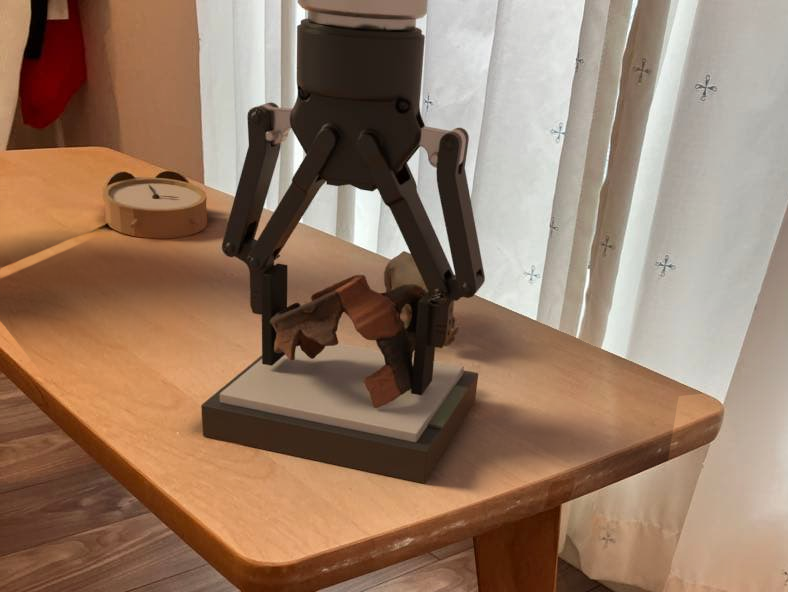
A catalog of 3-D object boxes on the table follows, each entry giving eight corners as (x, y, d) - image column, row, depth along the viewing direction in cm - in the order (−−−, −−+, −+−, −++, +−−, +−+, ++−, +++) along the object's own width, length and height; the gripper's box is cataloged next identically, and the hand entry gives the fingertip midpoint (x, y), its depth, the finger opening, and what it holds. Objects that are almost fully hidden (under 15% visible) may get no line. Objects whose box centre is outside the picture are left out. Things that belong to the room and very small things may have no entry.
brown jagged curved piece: (351, 431, 61) (294, 313, 58) (288, 435, 69) (235, 331, 66) (482, 350, 66) (435, 238, 63) (410, 362, 74) (365, 263, 71)
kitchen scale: (202, 436, 65) (200, 395, 63) (283, 364, 76) (283, 328, 75) (424, 483, 62) (428, 441, 60) (475, 401, 73) (479, 364, 71)
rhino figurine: (428, 365, 79) (434, 294, 75) (372, 308, 89) (376, 244, 86) (473, 361, 80) (481, 291, 77) (413, 306, 90) (418, 242, 87)
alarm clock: (112, 213, 99) (89, 156, 109) (115, 257, 103) (93, 198, 112) (218, 210, 103) (187, 155, 113) (217, 252, 107) (187, 195, 116)
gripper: (152, 2, 55) (175, 361, 67) (543, 46, 50) (491, 425, 62) (212, -3, 61) (223, 327, 73) (566, 36, 56) (514, 383, 68)
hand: (346, 372), depth 67 cm, fingers closed on brown jagged curved piece, 10 cm apart
